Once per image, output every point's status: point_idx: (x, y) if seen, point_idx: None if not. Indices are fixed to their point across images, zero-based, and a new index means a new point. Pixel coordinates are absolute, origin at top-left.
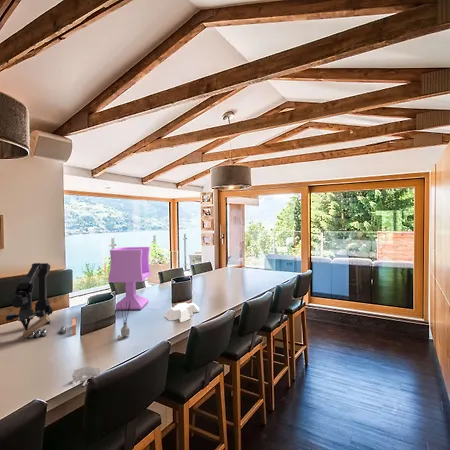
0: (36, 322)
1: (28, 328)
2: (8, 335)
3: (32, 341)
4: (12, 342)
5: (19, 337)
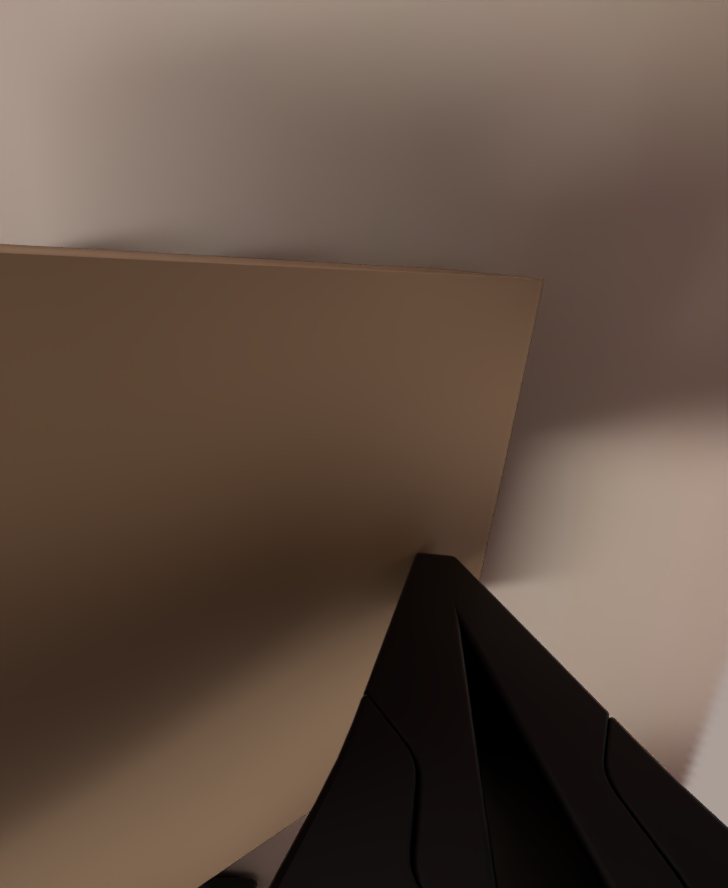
0: (21, 817)
1: (366, 612)
2: (655, 712)
3: (257, 33)
4: (697, 286)
5: (523, 537)
